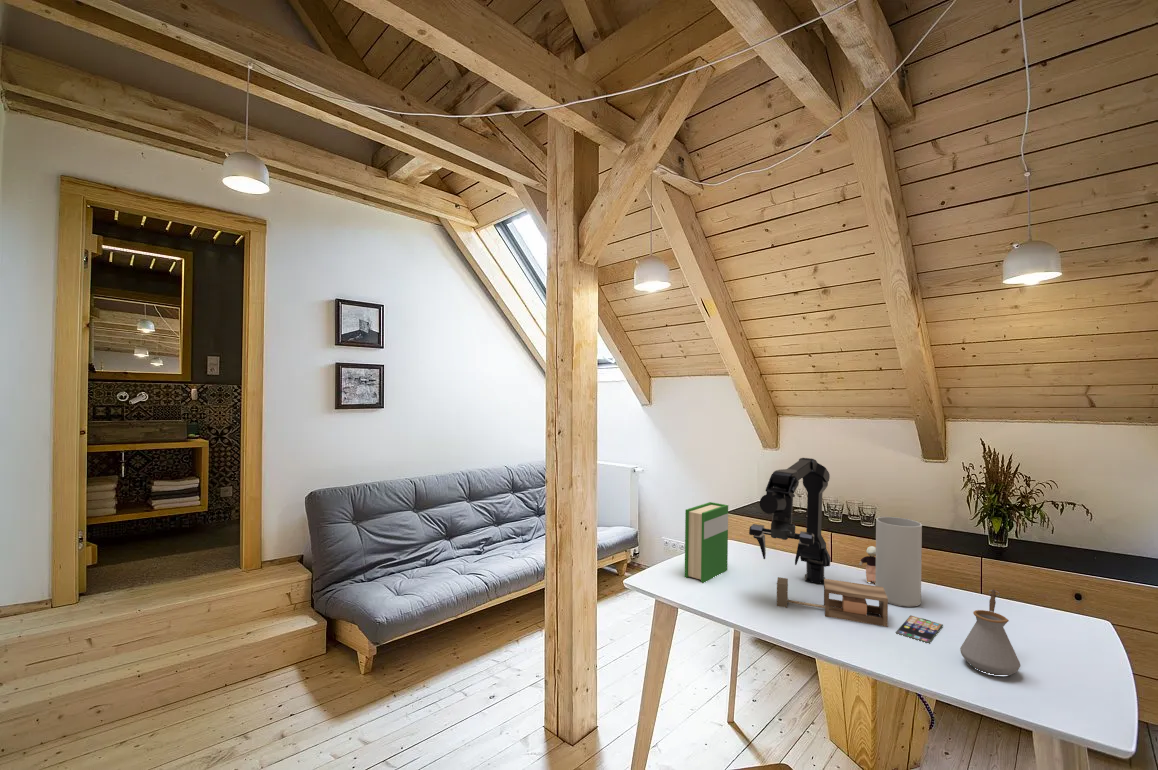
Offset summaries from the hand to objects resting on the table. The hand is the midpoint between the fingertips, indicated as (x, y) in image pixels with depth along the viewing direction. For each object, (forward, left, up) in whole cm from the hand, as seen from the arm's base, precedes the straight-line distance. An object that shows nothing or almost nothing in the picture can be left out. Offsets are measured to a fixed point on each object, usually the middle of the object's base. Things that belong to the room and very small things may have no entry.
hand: (779, 561), depth 163 cm
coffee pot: (+15, +50, -13) cm, 54 cm away
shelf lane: (0, +21, -13) cm, 24 cm away
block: (0, +12, -13) cm, 17 cm away
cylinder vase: (-19, +35, -13) cm, 42 cm away
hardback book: (-16, -25, -13) cm, 33 cm away
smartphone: (+3, +37, -14) cm, 39 cm away
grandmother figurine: (-32, +29, -13) cm, 45 cm away
